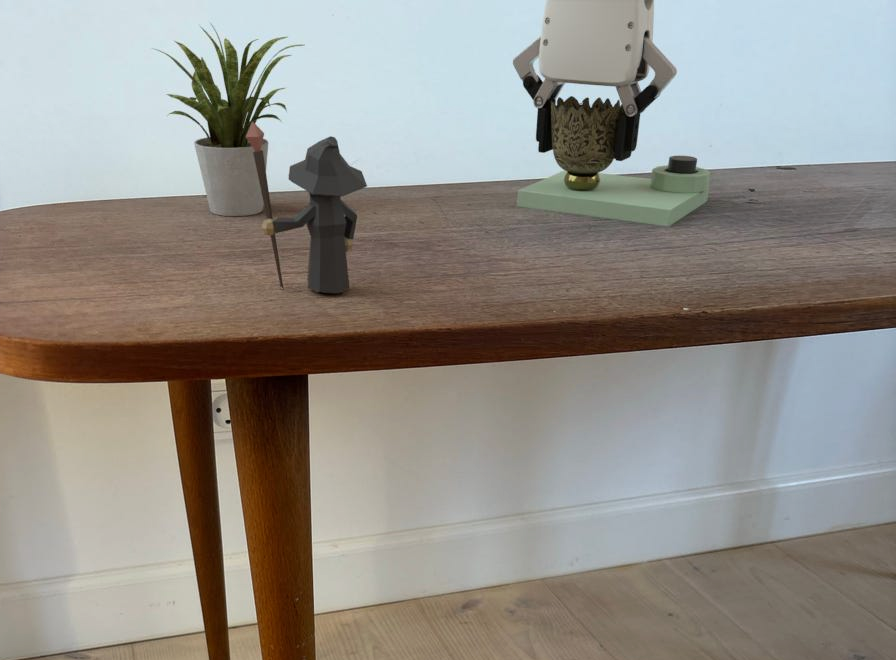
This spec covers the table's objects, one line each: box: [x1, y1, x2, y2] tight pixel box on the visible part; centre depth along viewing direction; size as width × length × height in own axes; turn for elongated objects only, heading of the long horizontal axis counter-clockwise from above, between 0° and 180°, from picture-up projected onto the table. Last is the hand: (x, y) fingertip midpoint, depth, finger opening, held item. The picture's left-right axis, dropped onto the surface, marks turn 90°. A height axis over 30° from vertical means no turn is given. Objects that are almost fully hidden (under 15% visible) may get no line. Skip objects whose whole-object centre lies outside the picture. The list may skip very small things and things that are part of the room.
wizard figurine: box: [246, 121, 368, 294], centre depth 79 cm, size 8×6×12 cm
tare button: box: [667, 155, 698, 174], centre depth 107 cm, size 3×3×2 cm
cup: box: [551, 95, 624, 190], centre depth 105 cm, size 8×7×8 cm
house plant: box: [151, 22, 304, 217], centre depth 100 cm, size 14×14×16 cm
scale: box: [516, 164, 712, 227], centre depth 108 cm, size 16×13×3 cm
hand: (584, 153), depth 106 cm, fingers closed on cup, 7 cm apart
